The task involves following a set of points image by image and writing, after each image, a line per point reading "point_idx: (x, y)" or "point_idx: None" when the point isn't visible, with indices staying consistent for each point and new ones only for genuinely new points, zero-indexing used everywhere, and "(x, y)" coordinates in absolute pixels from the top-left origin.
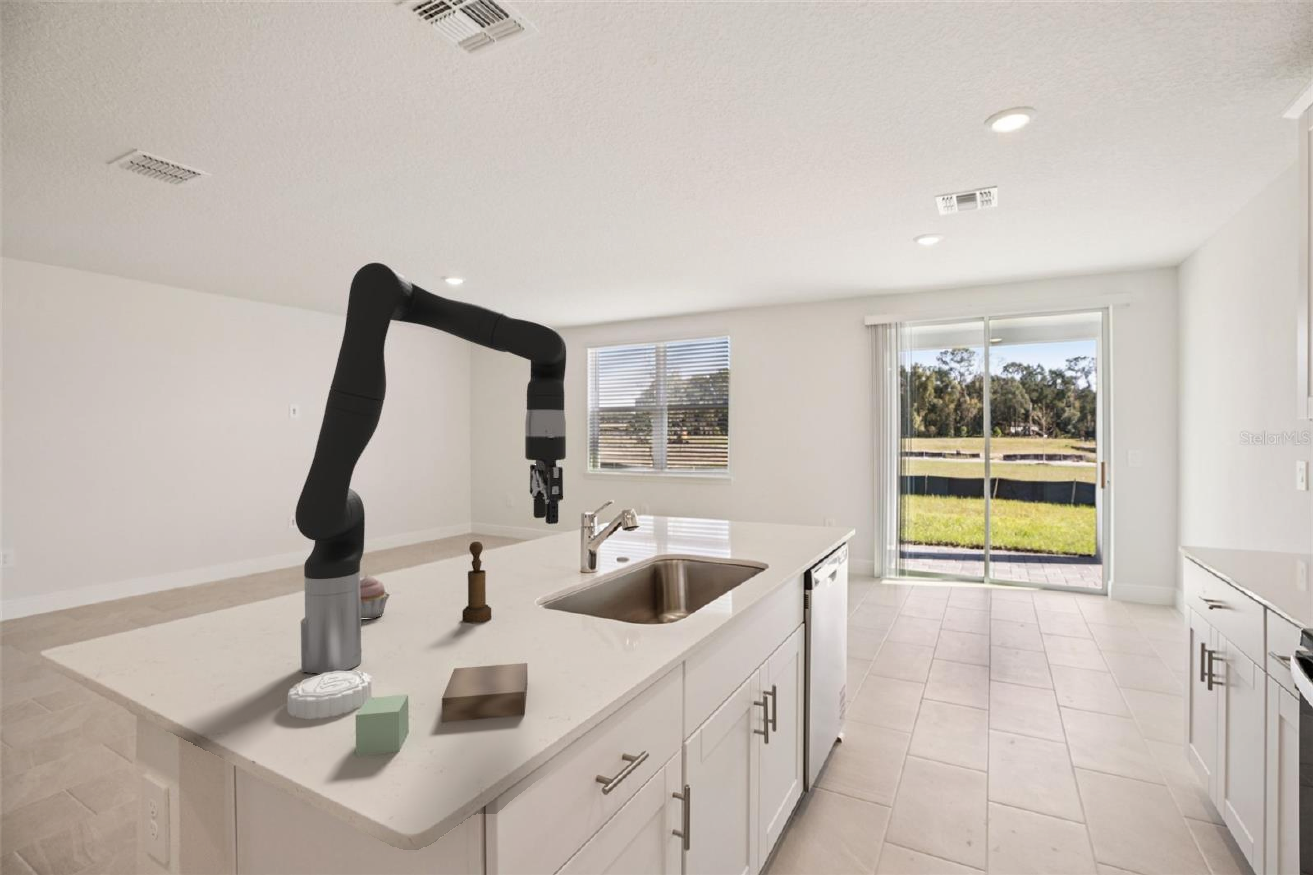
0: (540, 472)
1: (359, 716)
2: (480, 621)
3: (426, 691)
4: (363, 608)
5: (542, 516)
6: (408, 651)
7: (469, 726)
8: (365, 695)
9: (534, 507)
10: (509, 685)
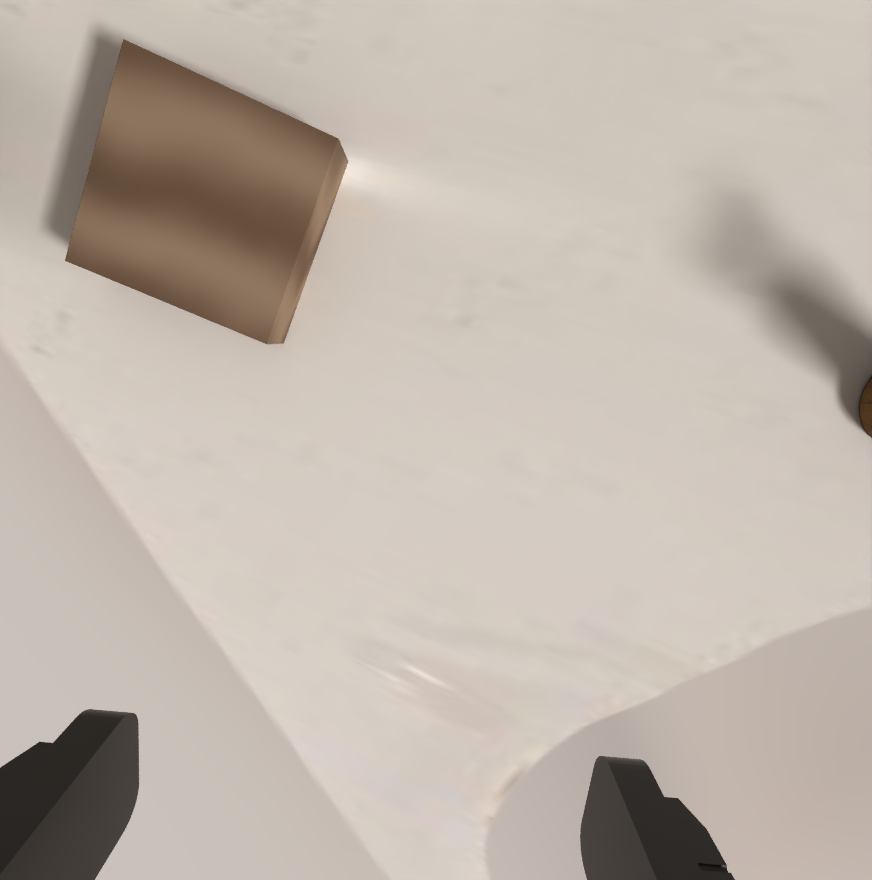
0: None
1: None
2: (862, 398)
3: (379, 87)
4: None
5: (584, 830)
6: (741, 116)
7: None
8: None
9: (655, 870)
10: (124, 239)
